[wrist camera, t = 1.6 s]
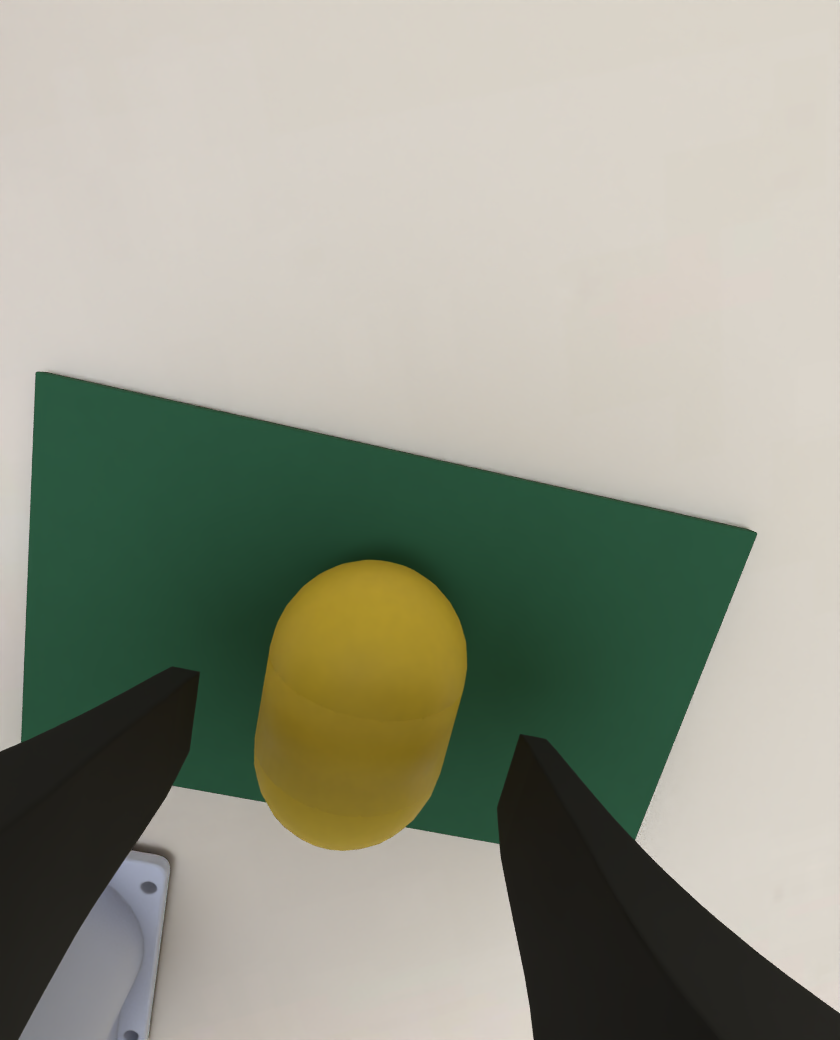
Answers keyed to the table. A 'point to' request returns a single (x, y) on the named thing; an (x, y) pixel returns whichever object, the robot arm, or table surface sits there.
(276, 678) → the yellow capsule toy
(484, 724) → the cloth
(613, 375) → the table surface
